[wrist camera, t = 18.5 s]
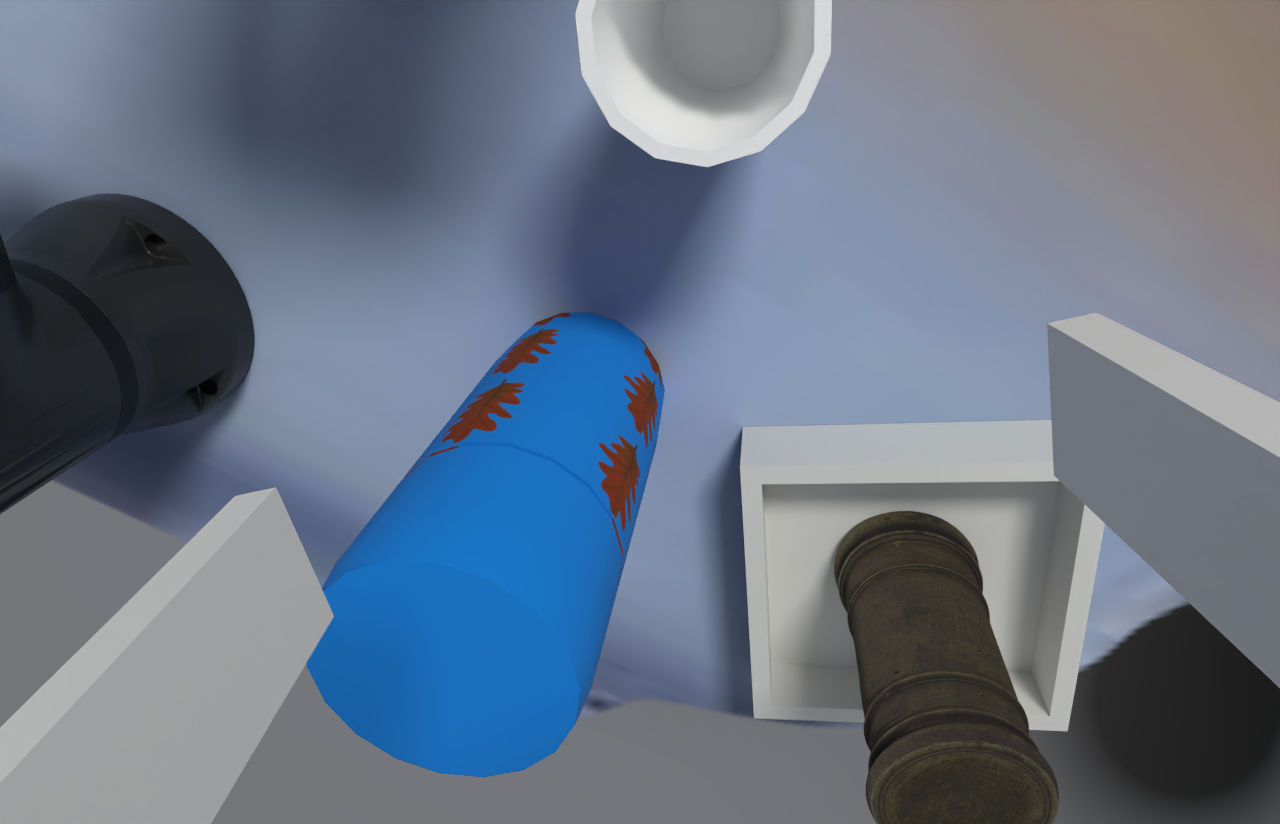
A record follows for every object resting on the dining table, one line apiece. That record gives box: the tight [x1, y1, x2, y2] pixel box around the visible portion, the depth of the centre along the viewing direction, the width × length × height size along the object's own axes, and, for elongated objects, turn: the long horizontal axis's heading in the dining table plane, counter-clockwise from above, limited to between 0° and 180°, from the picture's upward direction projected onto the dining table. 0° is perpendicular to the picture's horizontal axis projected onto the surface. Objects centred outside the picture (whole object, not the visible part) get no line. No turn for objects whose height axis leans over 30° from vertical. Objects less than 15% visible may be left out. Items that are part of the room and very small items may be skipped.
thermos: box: [307, 313, 665, 777], centre depth 40 cm, size 11×11×25 cm
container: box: [834, 511, 1059, 824], centre depth 44 cm, size 9×9×18 cm
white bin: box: [740, 420, 1105, 731], centre depth 51 cm, size 20×20×5 cm
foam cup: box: [575, 0, 832, 167], centre depth 35 cm, size 10×9×13 cm
